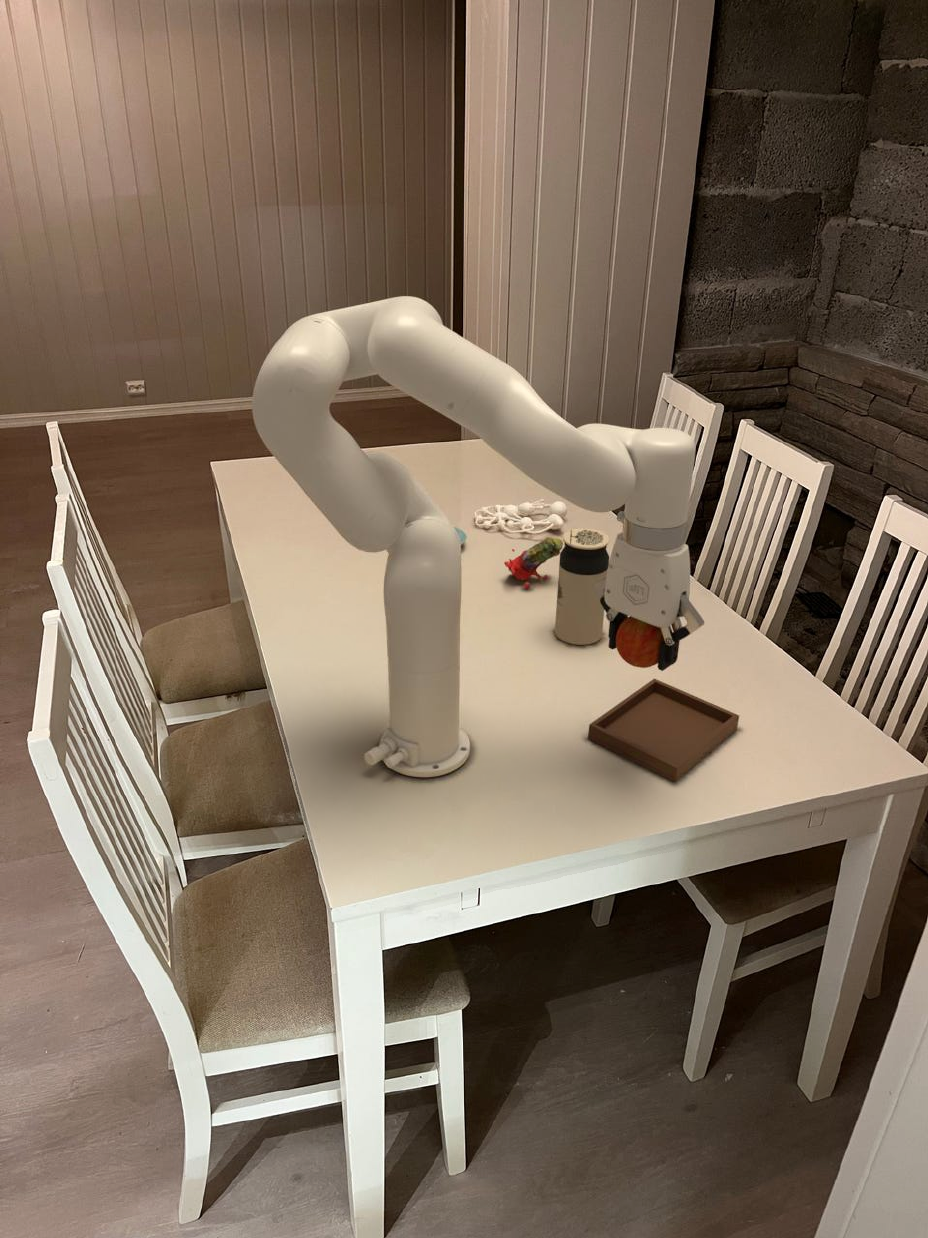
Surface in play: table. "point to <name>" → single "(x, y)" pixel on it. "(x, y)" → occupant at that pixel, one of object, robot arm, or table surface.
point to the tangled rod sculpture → (525, 524)
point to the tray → (663, 729)
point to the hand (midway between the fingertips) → (641, 654)
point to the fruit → (639, 642)
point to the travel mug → (581, 586)
